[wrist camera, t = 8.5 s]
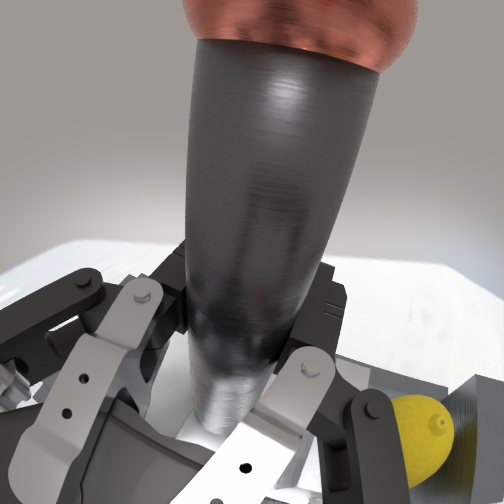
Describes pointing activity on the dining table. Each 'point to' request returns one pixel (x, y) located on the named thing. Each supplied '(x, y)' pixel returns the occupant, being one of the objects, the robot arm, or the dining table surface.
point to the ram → (271, 189)
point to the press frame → (465, 433)
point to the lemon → (423, 435)
